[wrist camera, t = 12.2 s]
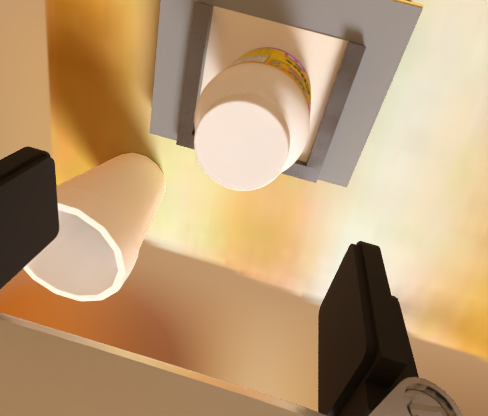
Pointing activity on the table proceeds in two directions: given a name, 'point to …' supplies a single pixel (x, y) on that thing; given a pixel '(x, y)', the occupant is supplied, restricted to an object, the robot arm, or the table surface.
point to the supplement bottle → (253, 119)
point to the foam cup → (100, 228)
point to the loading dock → (299, 45)
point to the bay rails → (328, 121)
